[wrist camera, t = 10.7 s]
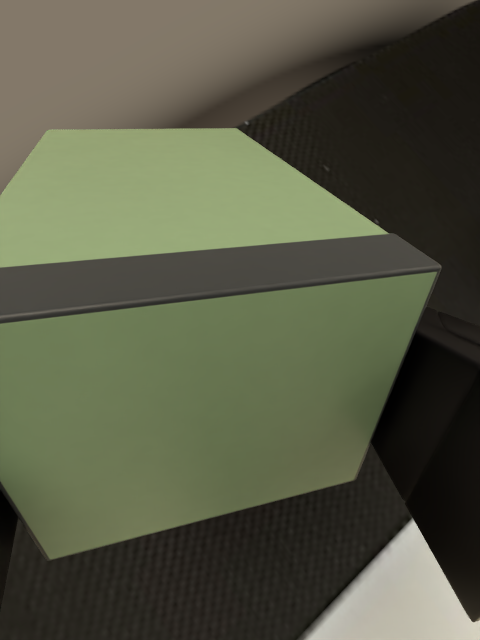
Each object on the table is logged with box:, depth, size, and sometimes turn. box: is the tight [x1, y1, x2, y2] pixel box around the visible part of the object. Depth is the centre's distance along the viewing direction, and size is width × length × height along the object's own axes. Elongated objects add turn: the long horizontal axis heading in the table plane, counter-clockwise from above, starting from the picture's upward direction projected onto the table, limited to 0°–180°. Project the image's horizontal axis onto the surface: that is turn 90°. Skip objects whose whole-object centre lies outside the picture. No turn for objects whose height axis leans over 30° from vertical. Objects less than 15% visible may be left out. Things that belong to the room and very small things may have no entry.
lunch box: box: [0, 128, 441, 561], centre depth 10 cm, size 12×7×12 cm, turn 9°
